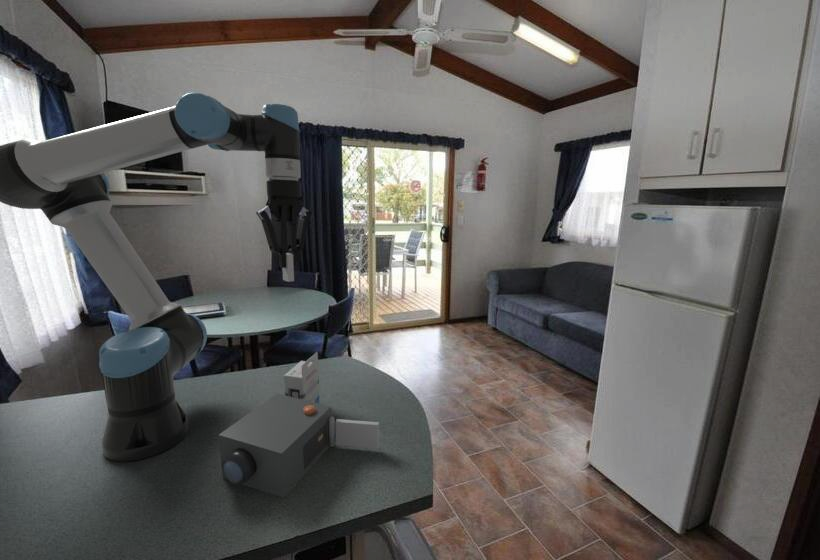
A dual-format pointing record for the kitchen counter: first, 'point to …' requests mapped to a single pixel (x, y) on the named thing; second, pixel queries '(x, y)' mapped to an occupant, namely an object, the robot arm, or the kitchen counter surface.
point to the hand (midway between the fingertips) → (288, 280)
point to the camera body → (276, 444)
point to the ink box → (303, 380)
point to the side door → (357, 433)
